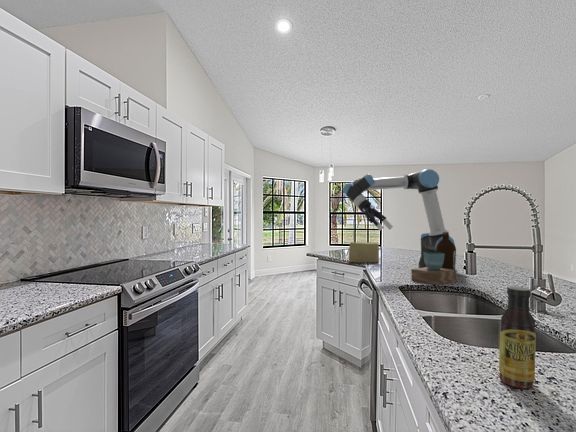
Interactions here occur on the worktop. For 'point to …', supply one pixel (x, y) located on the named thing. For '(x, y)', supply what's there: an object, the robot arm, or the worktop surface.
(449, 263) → the olive oil
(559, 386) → the worktop surface
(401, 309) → the worktop surface
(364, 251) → the cheese
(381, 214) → the robot arm
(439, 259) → the flower pot
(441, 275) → the walnut base
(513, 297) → the sauce bottle
